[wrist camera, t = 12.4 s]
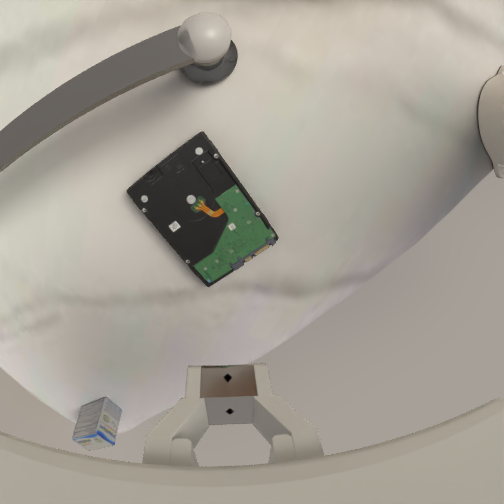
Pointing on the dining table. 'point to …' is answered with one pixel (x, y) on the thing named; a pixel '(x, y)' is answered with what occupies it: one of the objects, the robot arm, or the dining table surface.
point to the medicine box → (97, 424)
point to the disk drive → (203, 210)
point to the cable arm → (116, 80)
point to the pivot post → (212, 68)
